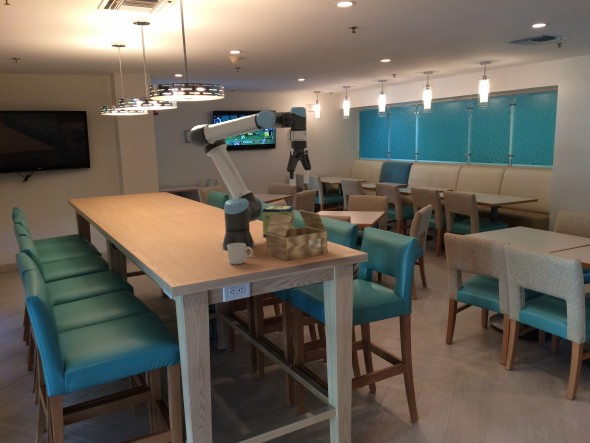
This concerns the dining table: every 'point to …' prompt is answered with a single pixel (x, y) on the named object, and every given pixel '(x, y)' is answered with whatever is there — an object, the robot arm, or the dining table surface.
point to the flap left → (279, 224)
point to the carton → (297, 243)
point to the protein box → (278, 210)
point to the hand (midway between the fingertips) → (299, 184)
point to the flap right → (312, 220)
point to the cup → (238, 253)
